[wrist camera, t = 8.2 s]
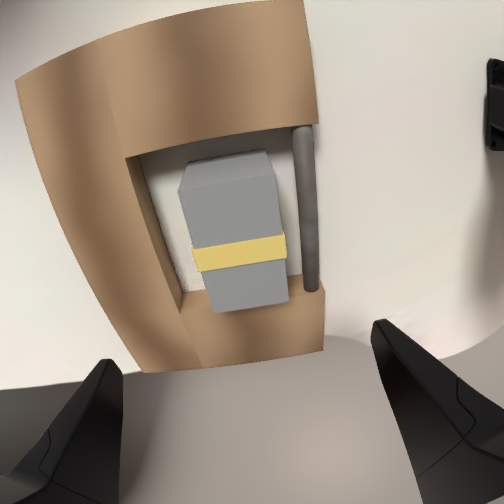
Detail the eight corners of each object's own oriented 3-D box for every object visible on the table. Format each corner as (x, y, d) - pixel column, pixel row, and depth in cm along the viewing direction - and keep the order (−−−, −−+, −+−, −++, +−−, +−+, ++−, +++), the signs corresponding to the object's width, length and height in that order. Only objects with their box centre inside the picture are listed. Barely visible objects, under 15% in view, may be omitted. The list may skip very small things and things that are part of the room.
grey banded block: (265, 148, 16) (277, 174, 12) (279, 257, 19) (291, 302, 16) (186, 162, 16) (174, 192, 12) (213, 268, 19) (212, 314, 16)
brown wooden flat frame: (293, 6, 11) (302, -2, 10) (317, 330, 24) (322, 350, 22) (34, 76, 11) (14, 80, 10) (147, 353, 24) (143, 372, 22)
